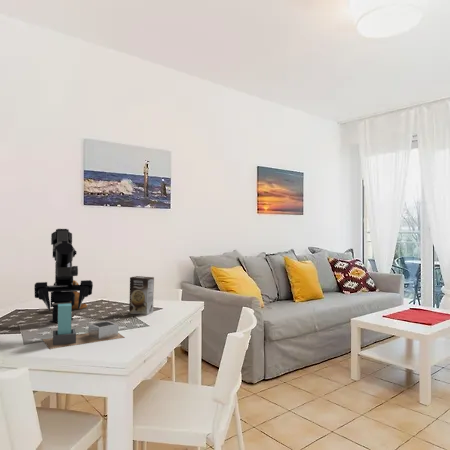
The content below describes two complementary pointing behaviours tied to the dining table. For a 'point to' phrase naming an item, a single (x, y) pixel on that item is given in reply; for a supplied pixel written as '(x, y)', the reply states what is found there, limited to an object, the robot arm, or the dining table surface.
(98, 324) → the port
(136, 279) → the coffee box
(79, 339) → the panel board
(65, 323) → the plug
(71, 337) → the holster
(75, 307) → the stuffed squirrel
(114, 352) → the dining table surface
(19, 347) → the dining table surface
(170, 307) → the dining table surface
